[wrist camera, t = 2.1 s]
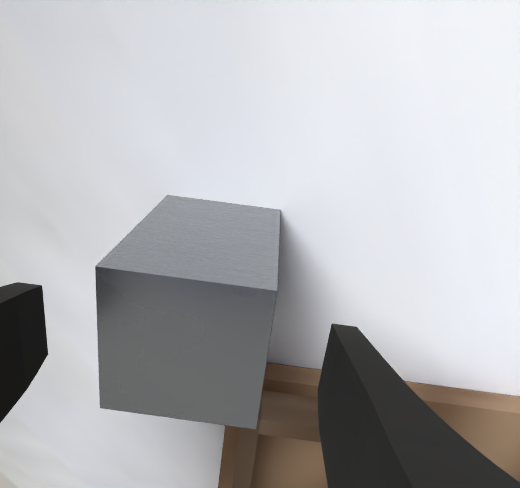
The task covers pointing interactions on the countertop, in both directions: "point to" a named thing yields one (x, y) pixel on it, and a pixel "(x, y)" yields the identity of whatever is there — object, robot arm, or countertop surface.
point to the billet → (189, 312)
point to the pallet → (308, 437)
